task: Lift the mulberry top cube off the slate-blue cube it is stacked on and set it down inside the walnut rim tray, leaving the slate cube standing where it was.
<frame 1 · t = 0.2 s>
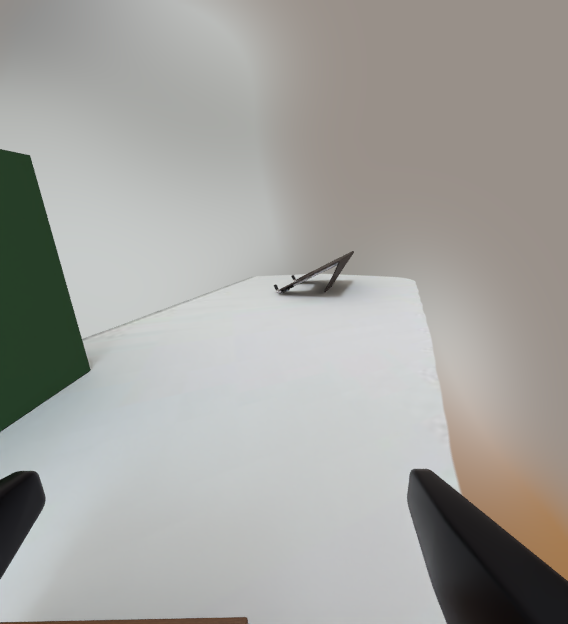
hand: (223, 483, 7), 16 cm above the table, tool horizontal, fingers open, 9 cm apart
laptop tray: (314, 289, 96), on the table
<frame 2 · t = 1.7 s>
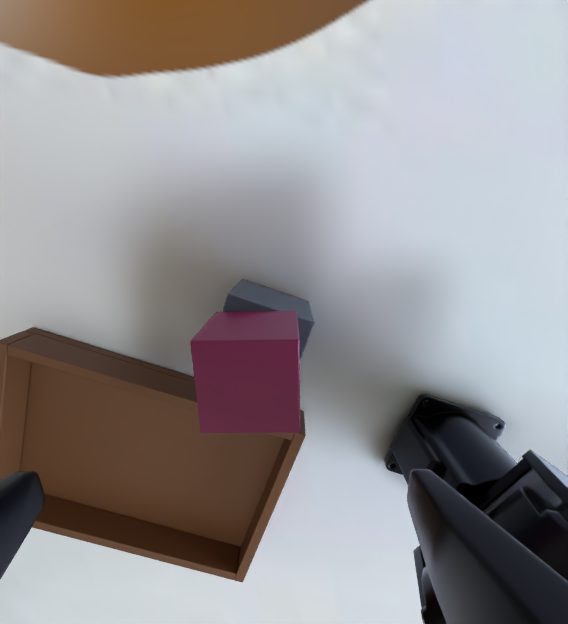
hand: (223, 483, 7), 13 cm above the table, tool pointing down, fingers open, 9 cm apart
slate block: (265, 321, 19), on the table, touching mulberry block
mulberry block: (258, 348, 15), point 4 cm above the table, touching slate block
tray: (152, 449, 22), on the table
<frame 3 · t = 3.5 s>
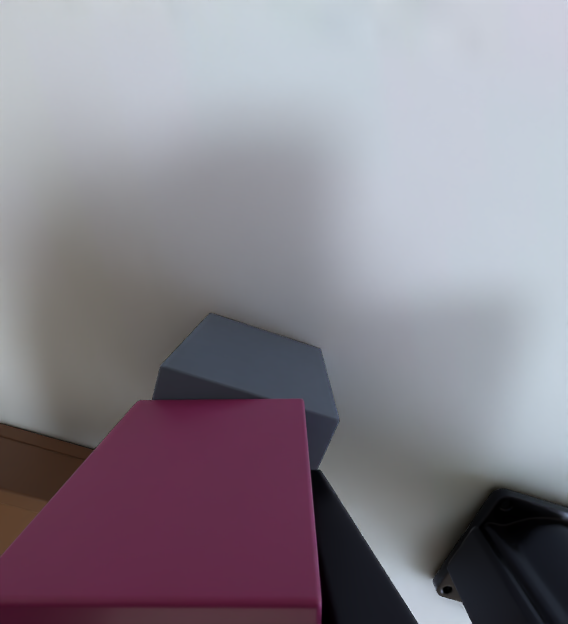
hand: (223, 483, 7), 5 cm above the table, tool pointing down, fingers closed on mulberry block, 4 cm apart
slate block: (249, 380, 12), on the table, touching mulberry block
mulberry block: (226, 466, 8), point 4 cm above the table, touching gripper, slate block
tray: (82, 560, 15), on the table
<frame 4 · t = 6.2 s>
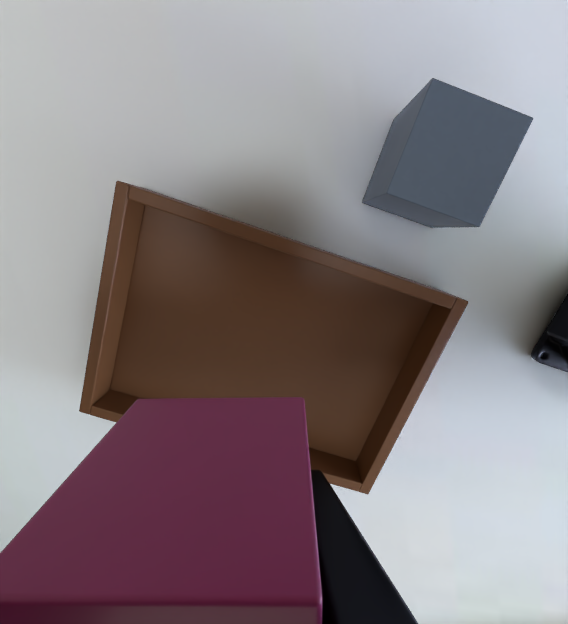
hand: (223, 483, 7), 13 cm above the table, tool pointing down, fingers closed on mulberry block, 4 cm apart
slate block: (413, 175, 17), on the table
mulberry block: (226, 465, 8), point 12 cm above the table, touching gripper
tray: (264, 343, 20), on the table
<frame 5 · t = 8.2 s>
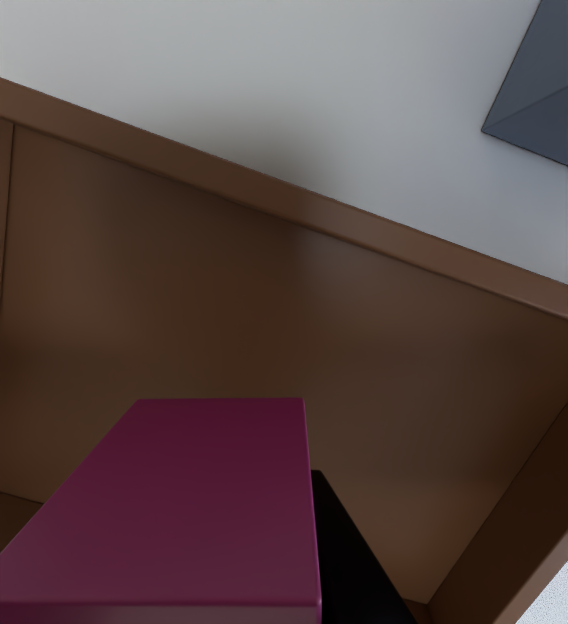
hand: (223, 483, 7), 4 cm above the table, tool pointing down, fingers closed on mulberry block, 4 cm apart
mulberry block: (226, 465, 8), point 3 cm above the table, touching gripper
tray: (269, 409, 11), on the table
when the fingers open (1 cm above the table, at t = 9.3 s): mulberry block stays where it is, resting on tray.
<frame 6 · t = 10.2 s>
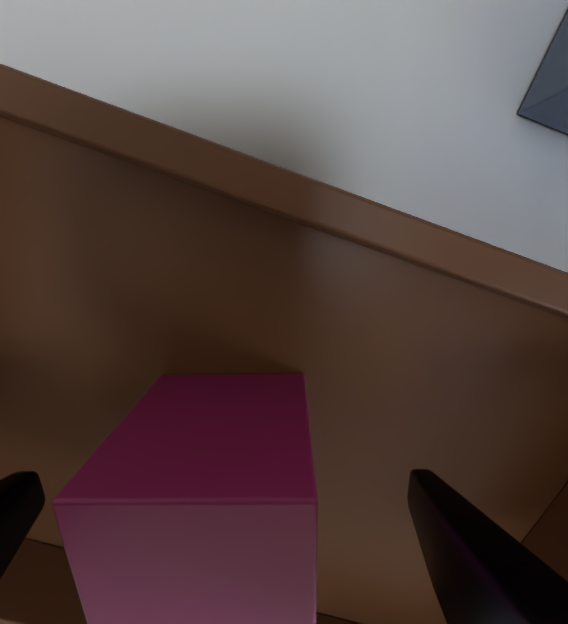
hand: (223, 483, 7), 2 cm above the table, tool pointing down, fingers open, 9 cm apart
mulberry block: (237, 434, 9), point 1 cm above the table, touching tray
tray: (269, 432, 9), on the table
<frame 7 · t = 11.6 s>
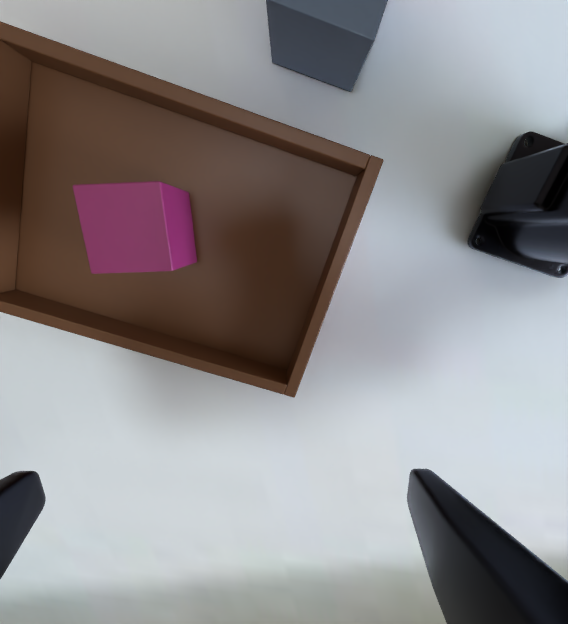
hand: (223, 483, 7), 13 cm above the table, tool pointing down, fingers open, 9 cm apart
slate block: (326, 28, 15), on the table
mulberry block: (160, 229, 17), point 1 cm above the table, touching tray
tray: (180, 235, 18), on the table
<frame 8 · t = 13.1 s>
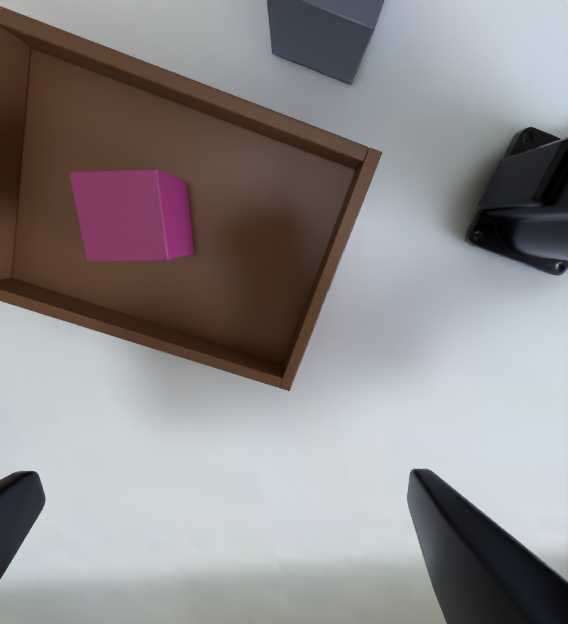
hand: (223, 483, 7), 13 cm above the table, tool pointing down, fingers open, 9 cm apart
slate block: (326, 19, 15), on the table
mulberry block: (157, 219, 17), point 1 cm above the table, touching tray
tray: (177, 226, 18), on the table
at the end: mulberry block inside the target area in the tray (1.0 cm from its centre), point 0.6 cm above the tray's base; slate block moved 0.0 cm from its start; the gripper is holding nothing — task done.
